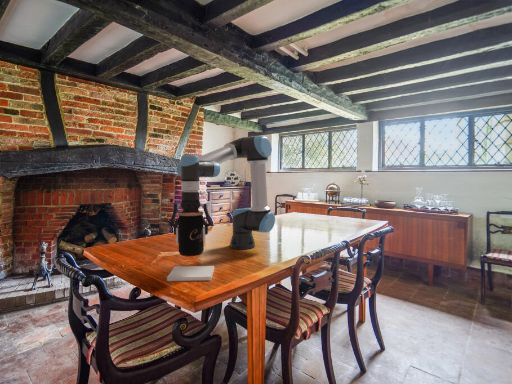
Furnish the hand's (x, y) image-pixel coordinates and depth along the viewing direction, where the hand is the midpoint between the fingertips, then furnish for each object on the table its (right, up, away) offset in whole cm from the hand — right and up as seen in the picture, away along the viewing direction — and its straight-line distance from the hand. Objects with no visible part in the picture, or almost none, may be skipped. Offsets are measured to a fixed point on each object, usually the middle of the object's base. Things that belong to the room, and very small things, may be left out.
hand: (191, 242), depth 126 cm
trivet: (0, -14, +1) cm, 15 cm away
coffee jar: (0, -5, 0) cm, 5 cm away
